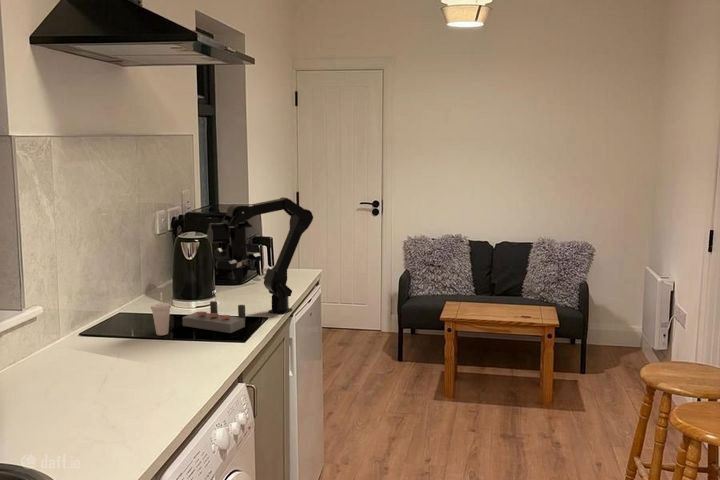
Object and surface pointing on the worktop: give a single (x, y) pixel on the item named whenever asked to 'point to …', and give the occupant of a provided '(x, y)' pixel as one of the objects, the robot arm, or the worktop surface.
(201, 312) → the paddle left
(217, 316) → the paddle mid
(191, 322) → the power strip
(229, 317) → the paddle right
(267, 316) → the worktop surface
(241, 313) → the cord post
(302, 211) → the robot arm
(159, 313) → the smoothie
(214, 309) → the peg
